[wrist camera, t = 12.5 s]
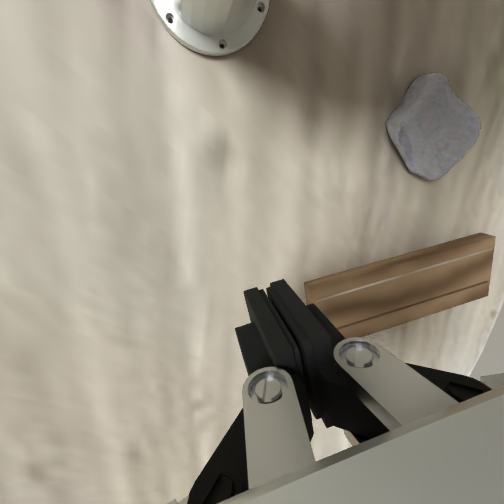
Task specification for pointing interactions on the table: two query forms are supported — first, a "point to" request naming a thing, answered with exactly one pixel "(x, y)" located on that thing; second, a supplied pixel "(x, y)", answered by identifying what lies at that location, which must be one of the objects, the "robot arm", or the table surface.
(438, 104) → the stone block
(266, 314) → the robot arm
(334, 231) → the table surface
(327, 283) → the walnut board
